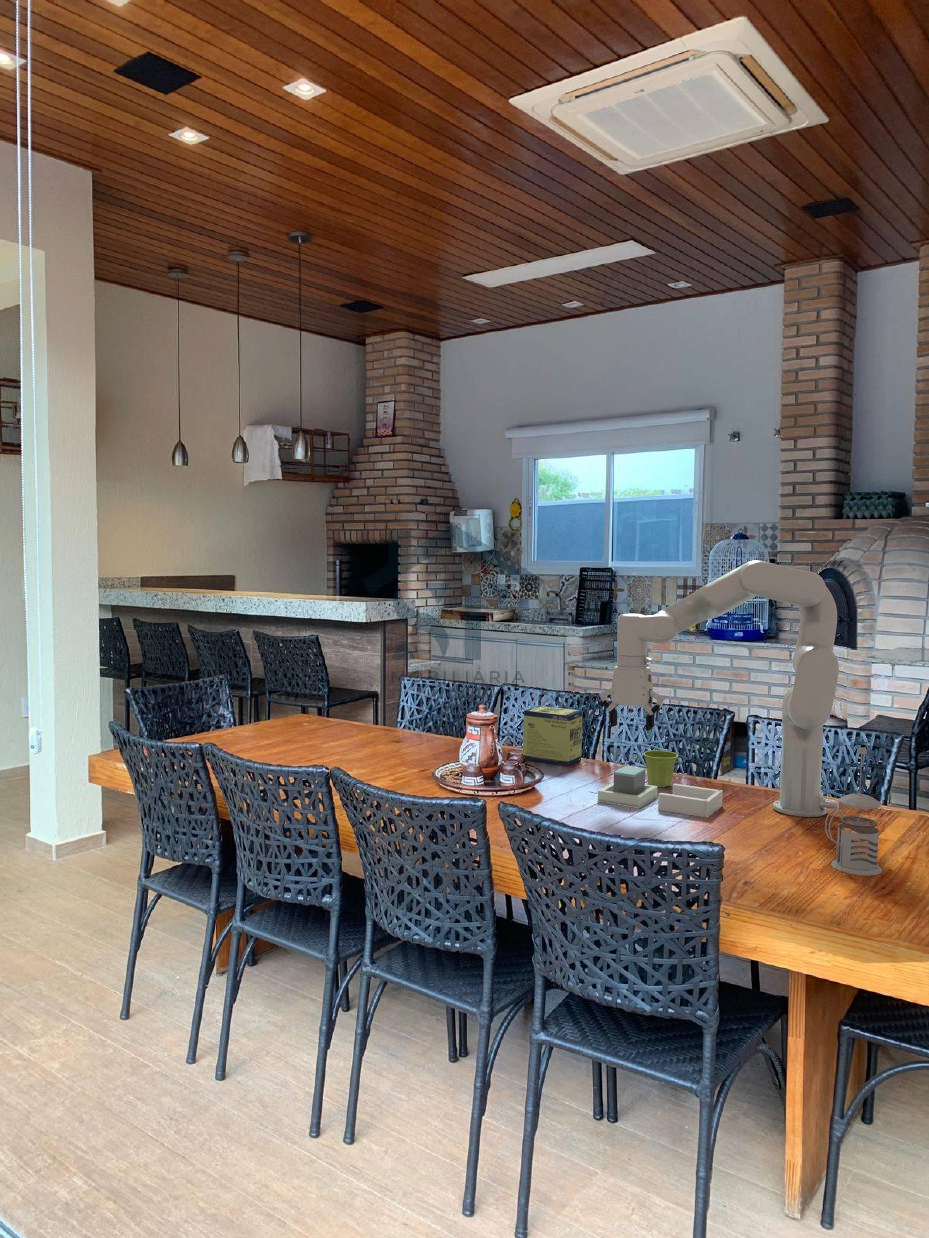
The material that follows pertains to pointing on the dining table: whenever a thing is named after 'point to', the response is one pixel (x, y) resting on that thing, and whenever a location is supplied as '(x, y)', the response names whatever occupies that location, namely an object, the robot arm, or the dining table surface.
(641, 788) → the grey cube with lid
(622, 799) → the tray
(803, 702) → the robot arm
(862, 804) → the french press
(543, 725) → the protein box
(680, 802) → the bay
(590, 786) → the dining table surface
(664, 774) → the plant pot
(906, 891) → the dining table surface
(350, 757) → the dining table surface
